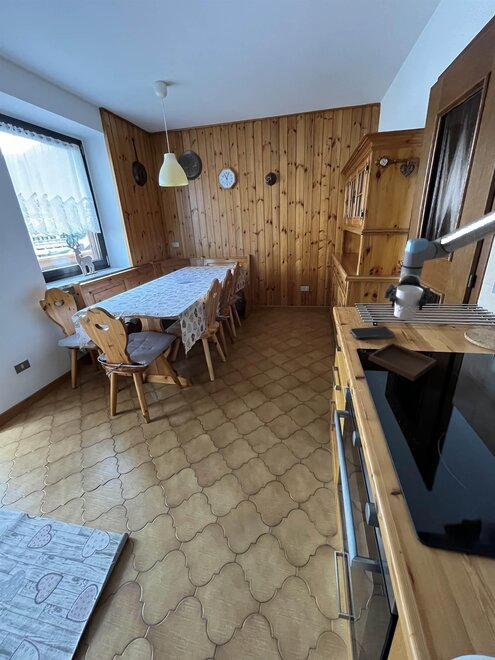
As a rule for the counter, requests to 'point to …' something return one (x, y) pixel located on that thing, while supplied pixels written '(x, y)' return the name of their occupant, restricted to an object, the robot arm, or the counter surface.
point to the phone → (372, 333)
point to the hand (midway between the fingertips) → (406, 304)
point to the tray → (402, 361)
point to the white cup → (407, 301)
